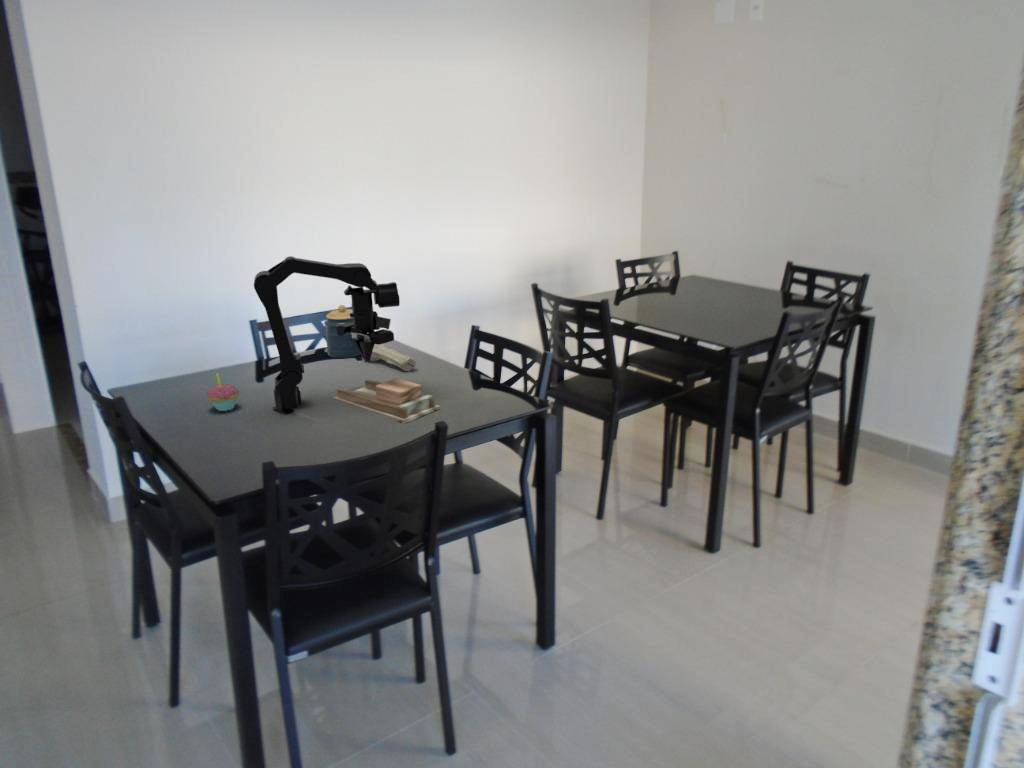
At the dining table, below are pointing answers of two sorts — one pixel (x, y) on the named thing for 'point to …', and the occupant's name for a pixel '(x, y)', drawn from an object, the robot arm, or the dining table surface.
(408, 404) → the bay
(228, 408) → the cupcake
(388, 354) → the faceted club
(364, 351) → the robot arm
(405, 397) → the crate
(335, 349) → the canister
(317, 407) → the dining table surface
